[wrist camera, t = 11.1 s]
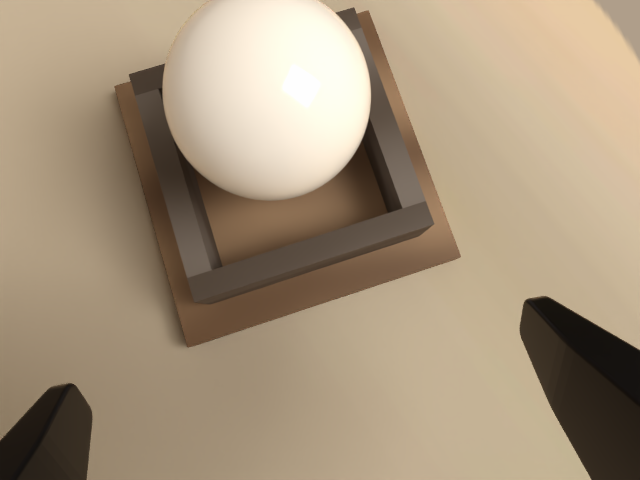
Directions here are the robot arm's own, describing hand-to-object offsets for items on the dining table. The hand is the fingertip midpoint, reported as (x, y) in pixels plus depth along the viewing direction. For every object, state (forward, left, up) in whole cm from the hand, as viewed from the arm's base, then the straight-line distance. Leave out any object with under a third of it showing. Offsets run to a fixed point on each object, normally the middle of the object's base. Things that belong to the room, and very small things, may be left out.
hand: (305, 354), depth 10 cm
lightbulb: (+7, -1, -12) cm, 15 cm away
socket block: (+8, -1, -13) cm, 15 cm away
